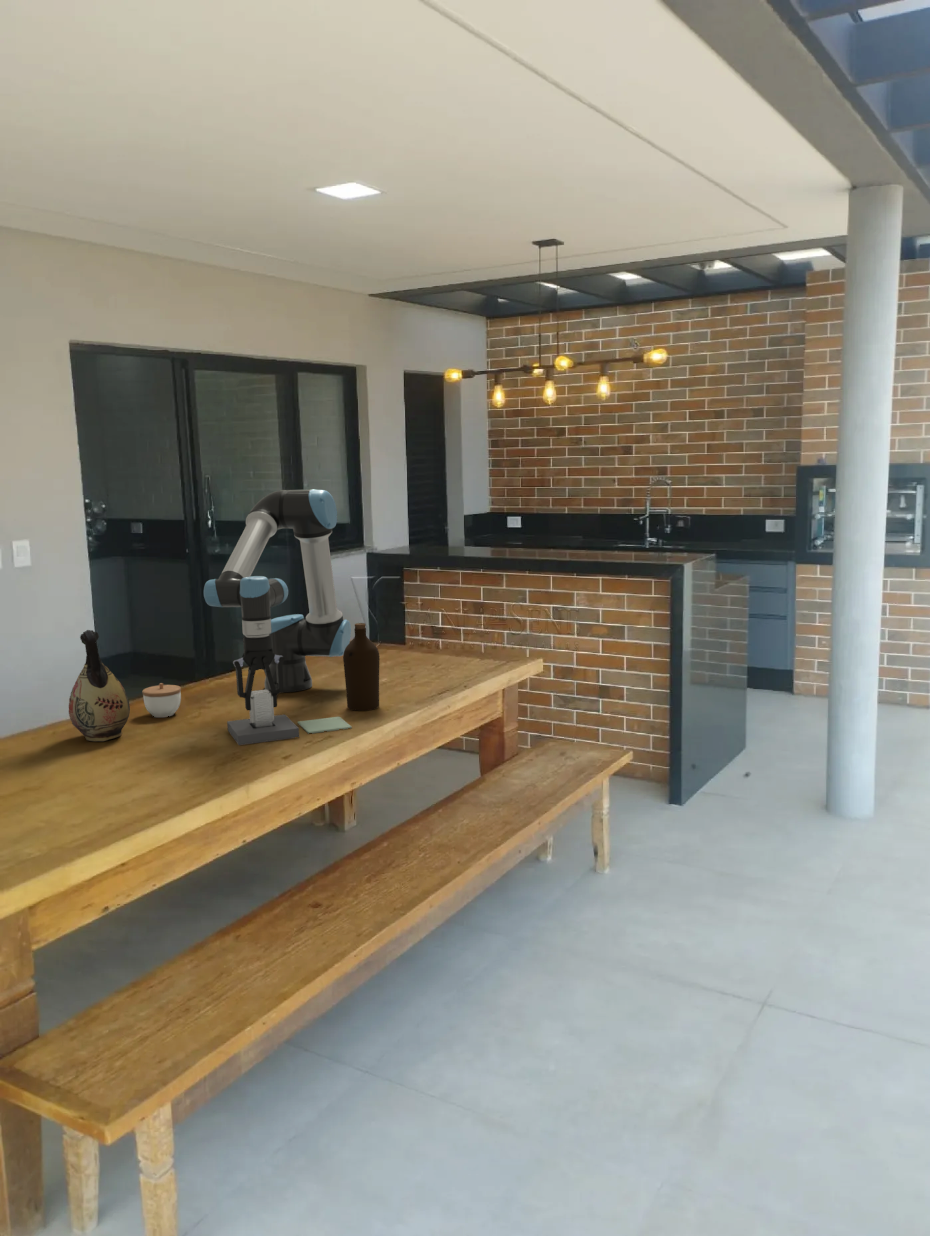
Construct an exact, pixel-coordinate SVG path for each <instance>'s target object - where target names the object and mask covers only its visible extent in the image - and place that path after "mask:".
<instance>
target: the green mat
mask: <svg viewBox="0 0 930 1236" xmlns="http://www.w3.org/2000/svg"><path fill="white" fill-rule="evenodd" d="M297 724H298V726H300V727H301V728H302V729H303V730H304V731H305V732H306V733H307V734H308V735H310V734H309V733H312V734H319V733H325V732H324V731H327V732H335V731H340V730H339V729H343V730H349V729H348V728H350V729H352V727H353V726H352V725H350V724H349V723H348V722H347V721H345V720H344V719H343V718H342V717H340V716H333V717H325V718H323V717H322V718H316V719H308V720H300V721H297Z"/></svg>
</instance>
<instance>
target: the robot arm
mask: <svg viewBox="0 0 930 1236" xmlns="http://www.w3.org/2000/svg"><path fill="white" fill-rule="evenodd" d="M337 516H338V509H337V505H336V501H335V499H334V497H333V495H332V494H331V493H330V492H329V491H328V490H325V489H316V488H312V489H310V488H308V489H281V490H275V491H273V492H270V493H268V494H267V495H265V496H264V497H262V498H261V499H260V500H259V501H257V503H256V504H255V505H254V506H253V507H252V508H251V509H250V511H249V512H248V513H247V516H246V518H245V527H244V528H243V529H244V530H243V531H242V534H241V535H240V537H239V539H238V541H237V543H236V545H235V546H234V548H233V551H232V553H231V554H230V556H229V558H228V560H227V562H226V564H225V566H224V568H223V570H222V571H221V574H220V575H219V577H218V578H214V579H209V580H207V581H206V582H205V584H204V587H203V597H204V598H203V599H204V600H205V604H207V605H208V606H210V607H218V608H241V610H240V611H241V623H242V624H241V625H242V627H241V629H242V634H243V638H242V641H243V643H242V645H243V653H242V656H241V657H240V658H238V659H234V660H233V661H232V664H233V667H234V668H235V676H236V677H235V678H236V679H235V680H236V690H237V691H236V692H237V695H238V697H239V698H242V699H244V703H245V704H244V705H245V709H246V711H249V719H250V721H251V722H252V723H255V717H254V699H253V698H252V697H251V692H252V691H253V685H254V681H255V680H254V679H255V675H256V671H259V670H261V671H262V670H263V671H264V674H265V677H264V678H265V679H264V690H266V689H267V690H268V691H269V692H270V693H271V706H272V720H274V716H275V709H274V708H277V707H278V695H279V694H282V693H292V692H293V693H294V692H300V691H305V690H308V689H311V687H313V678H312V676H311V673H310V670H309V668H308V665H307V662H306V660H307V659H306V657H329V658H333V657H342V656H343V654H344V650H345V648H346V647H347V645H348V644H349V643H350V642H351V634H352V633H351V632H352V627H351V626H352V625H351V622H350V621H349V619H348V620H347V619H344V614H343V612H342V610H339V608H338V606H337V598H336V591H335V581H334V575H333V573H334V572H333V568H332V566H333V565H332V559H331V552H330V541H329V537H330V536H331V534H333V529H334V528H335V527H336V525H337V521H338V517H337ZM281 529H287V530H288V529H289V530H290V529H292V530H293V536H294V537H295V539H297V540H299V543H300V552H301V559H302V564H303V572H304V579H305V587H306V595H307V600H308V601H307V602H308V608H309V613H307V614H306V616H305V617H304V615H303V614H299V613H297V614H296V613H295V614H287V615H283V616H278V617H274V618H272V616H271V614H272V613H271V609H272V608H274V607H278V606H280V605H281V604H283V603H284V602H285V601H286V600H287V599H288V597H289V596H288V595H289V588H288V586H287V583H286V582H285V581H284V580H283V579H281V578H277V577H275V578H274V577H273V578H272V577H270V578H268V577H266V576H263V575H254V576H252V574H253V572H254V570H255V568H256V567H257V564H258V562H259V560H260V557H261V556H262V553H263V552H264V549H265V547H266V545H267V544H268V542H269V540H270V538H272V537H273V536H275V534H276V533H277V531H279V530H281ZM244 663H245V664H246V665H247V666H248V671H247V677H246V678H247V679H246V684H245V690H244V681H243V669H242V667H243V666H244Z"/></svg>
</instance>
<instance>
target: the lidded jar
mask: <svg viewBox="0 0 930 1236" xmlns="http://www.w3.org/2000/svg"><path fill="white" fill-rule="evenodd" d="M181 690H182V688H181V686H179V685H175V684H164V683H163V682H160V683H159V684H158V685H151V686H149V687H146V688H143V690H142V692H141V693H142V698H143V704H144V707H145V709H146V711H147V713H149V714H150V715H152V717H153V716H154V717H153V718H167V717H168V716H169V717H172V716H174V715H175V713H176V712H177V711H178V709H179V707H180V705H181V701H182V694H181Z"/></svg>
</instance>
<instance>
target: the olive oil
mask: <svg viewBox="0 0 930 1236" xmlns="http://www.w3.org/2000/svg"><path fill="white" fill-rule="evenodd" d="M342 656H343V657H342V662H343V670H344V671H343V672H344V679H345V692H346V705H347V709H349V710H350V711H357V712H359V711H361V712H363V711H365V712H367V711H372V710H375V709H378V708H379V707H380V659H381V658H380V651H379V649H378V647H377V646H376V644H375V643H374V642H372V640H370V638H368V636H367V628H366V623H364V622H357V623H354V637H353V638H352V639H351V640H350V642H349V644H348V645H347V647H346V648H345V650H344V654H343V655H342Z"/></svg>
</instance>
